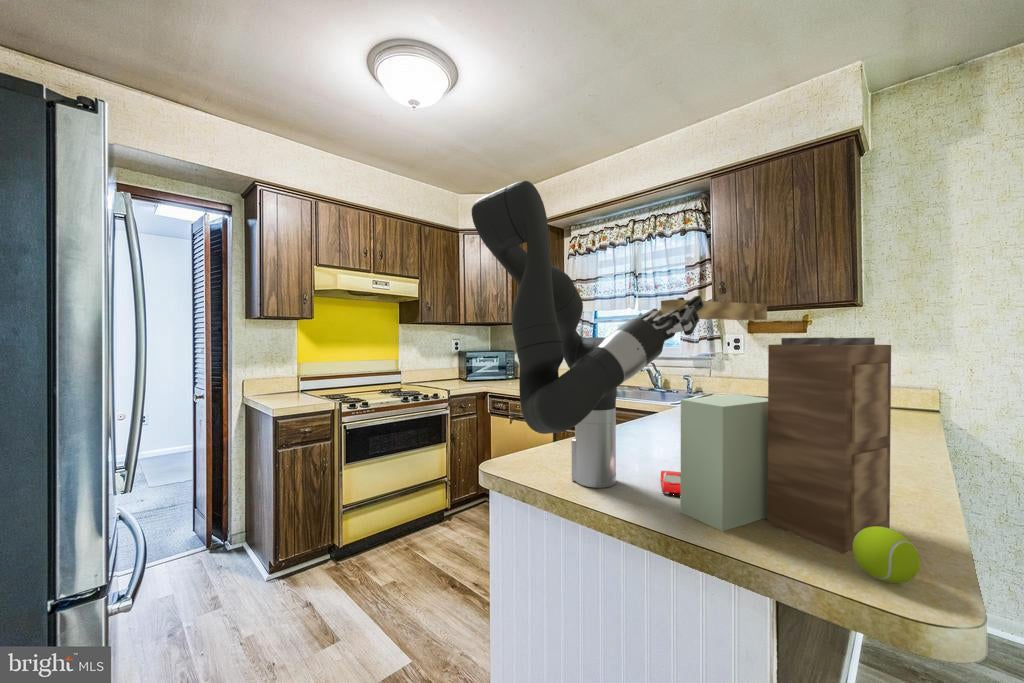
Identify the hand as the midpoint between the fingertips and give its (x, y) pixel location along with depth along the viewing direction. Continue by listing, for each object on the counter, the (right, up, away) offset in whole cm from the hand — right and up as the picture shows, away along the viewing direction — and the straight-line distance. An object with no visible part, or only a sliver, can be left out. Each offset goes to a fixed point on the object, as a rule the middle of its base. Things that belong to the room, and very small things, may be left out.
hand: (691, 301), depth 76 cm
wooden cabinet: (+23, -40, -1) cm, 46 cm away
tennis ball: (+20, -40, -17) cm, 48 cm away
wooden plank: (+6, -3, +3) cm, 7 cm away
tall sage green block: (+9, -40, +5) cm, 41 cm away
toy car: (+4, -40, +19) cm, 45 cm away
